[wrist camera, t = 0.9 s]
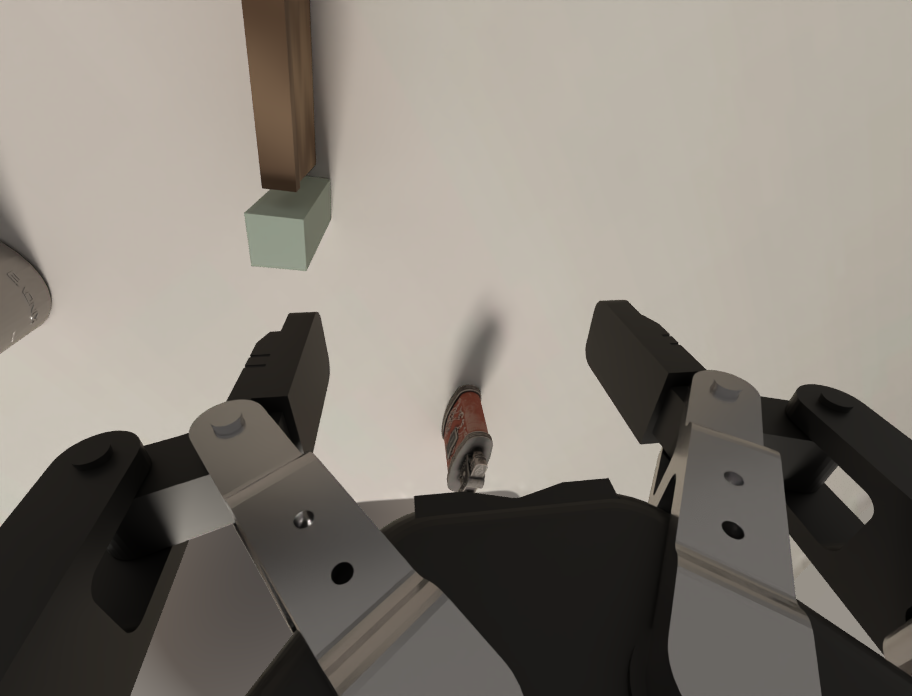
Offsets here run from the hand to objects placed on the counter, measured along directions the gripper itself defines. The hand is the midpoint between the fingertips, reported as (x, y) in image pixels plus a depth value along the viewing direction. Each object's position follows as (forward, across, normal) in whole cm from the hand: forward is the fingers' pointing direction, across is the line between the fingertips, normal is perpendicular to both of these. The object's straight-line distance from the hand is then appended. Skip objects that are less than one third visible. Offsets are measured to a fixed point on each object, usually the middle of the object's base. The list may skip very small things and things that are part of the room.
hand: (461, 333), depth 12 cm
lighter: (+23, -4, +25) cm, 34 cm away
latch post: (+23, +8, +2) cm, 25 cm away
